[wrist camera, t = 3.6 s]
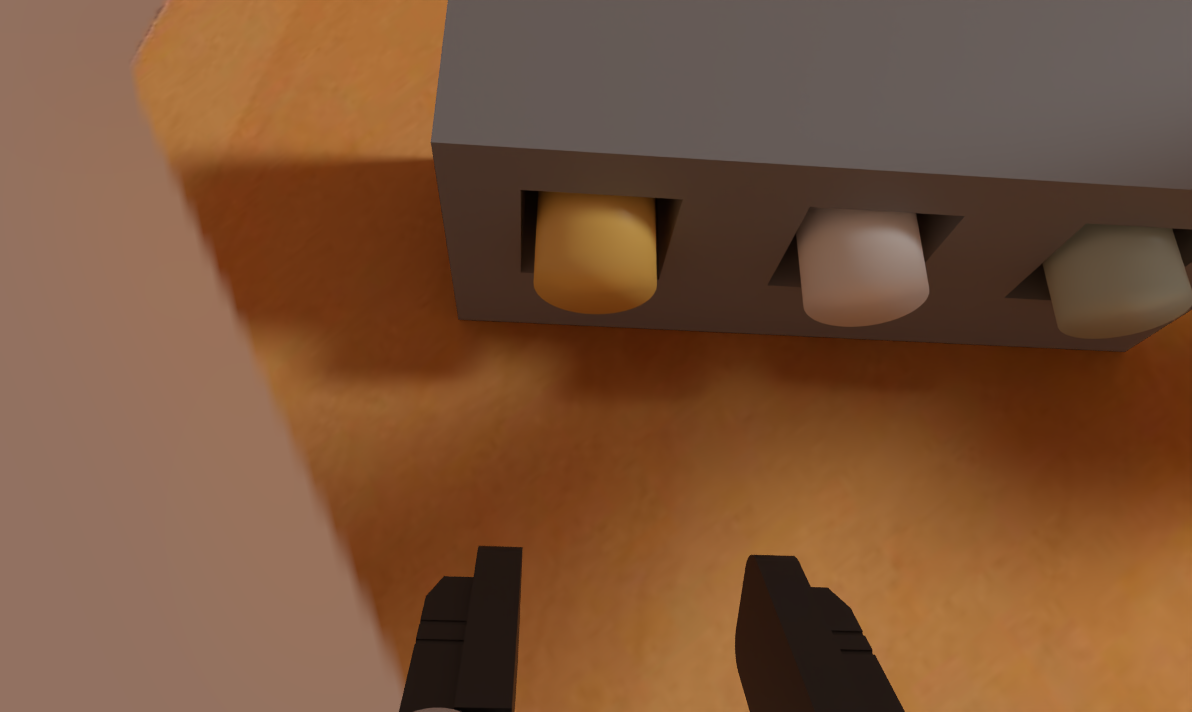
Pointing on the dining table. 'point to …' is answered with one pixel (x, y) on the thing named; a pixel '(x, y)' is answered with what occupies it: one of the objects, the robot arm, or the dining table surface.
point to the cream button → (860, 266)
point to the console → (814, 147)
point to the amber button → (595, 251)
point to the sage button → (1117, 281)
